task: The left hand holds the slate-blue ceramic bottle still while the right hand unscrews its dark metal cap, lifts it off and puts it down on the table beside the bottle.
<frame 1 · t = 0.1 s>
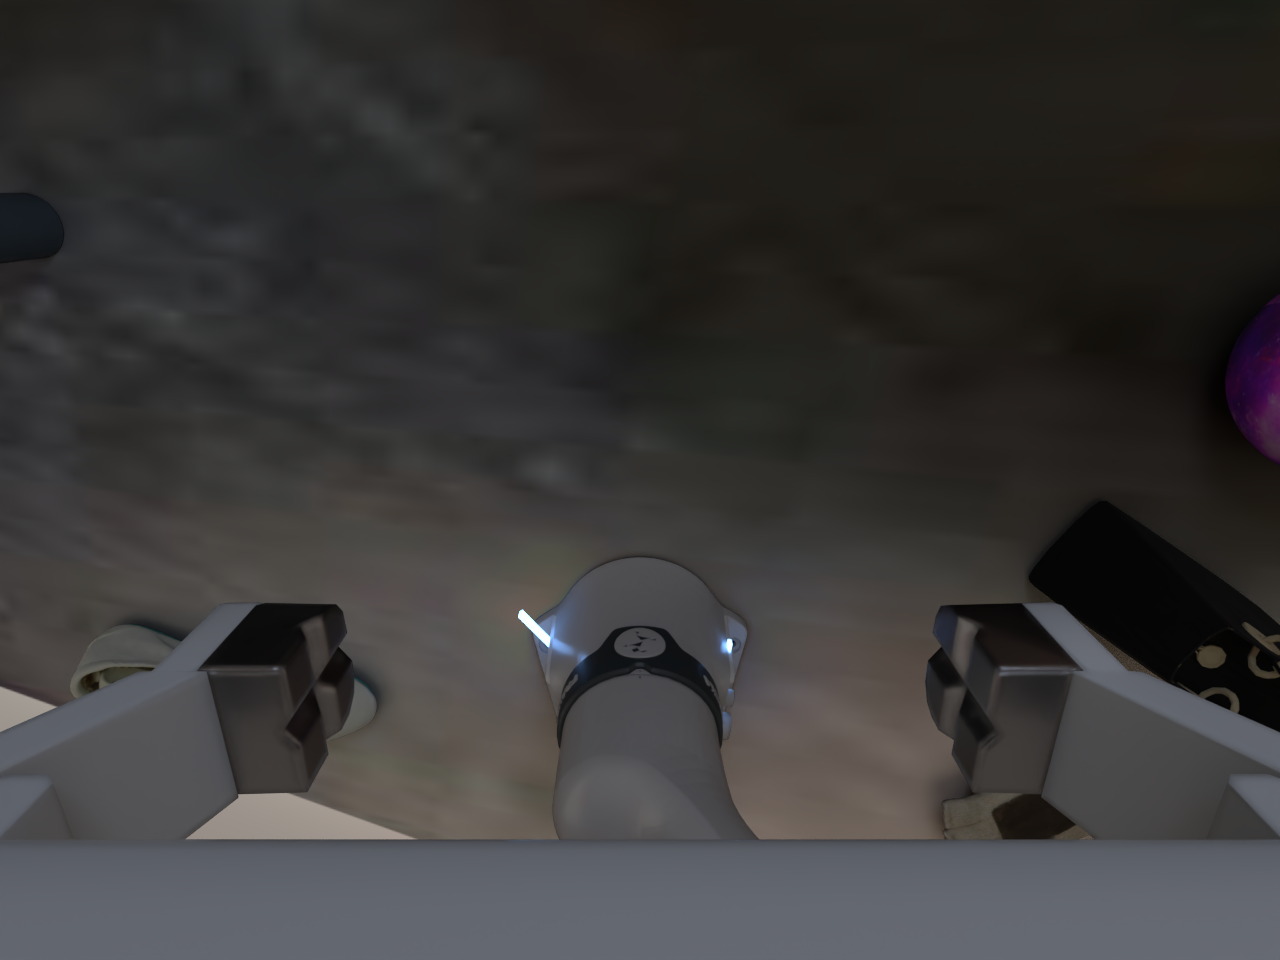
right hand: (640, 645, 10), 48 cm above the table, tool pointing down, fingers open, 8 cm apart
ballet flat: (246, 673, 68), on the table
decorative orb: (1276, 350, 57), on the table
bottle: (31, 225, 54), on the table
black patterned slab: (1136, 587, 65), on the table
pair of gloves: (1076, 839, 76), on the table
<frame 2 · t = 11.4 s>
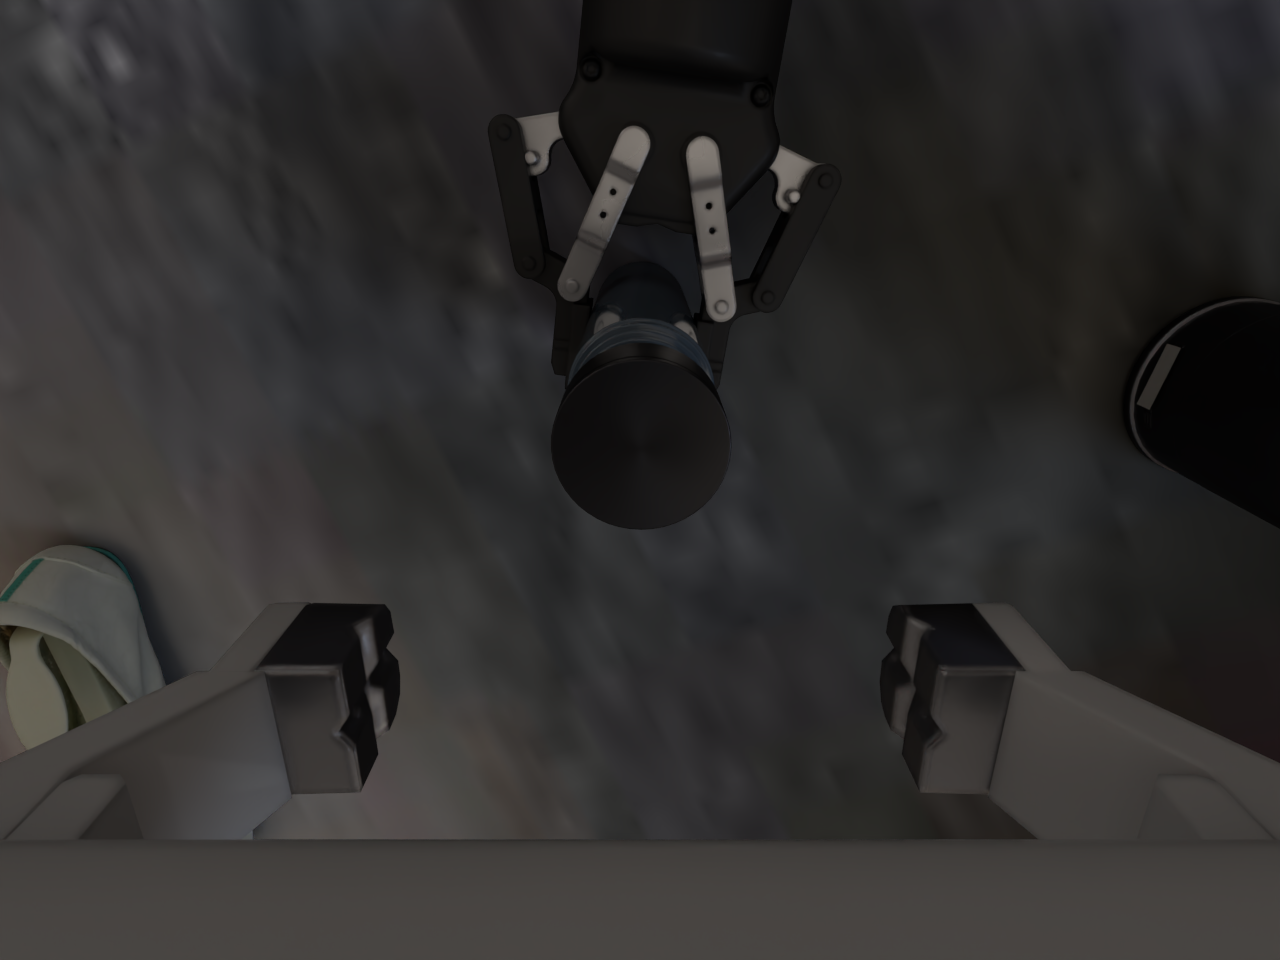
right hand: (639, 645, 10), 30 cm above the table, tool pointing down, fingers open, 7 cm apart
left hand: (633, 392, 33), fingers closed on bottle, 4 cm apart
cap: (641, 444, 18), point 21 cm above the table, screwed on, not yet turned
ballet flat: (155, 705, 47), on the table
bottle: (641, 306, 38), on the table, touching left hand
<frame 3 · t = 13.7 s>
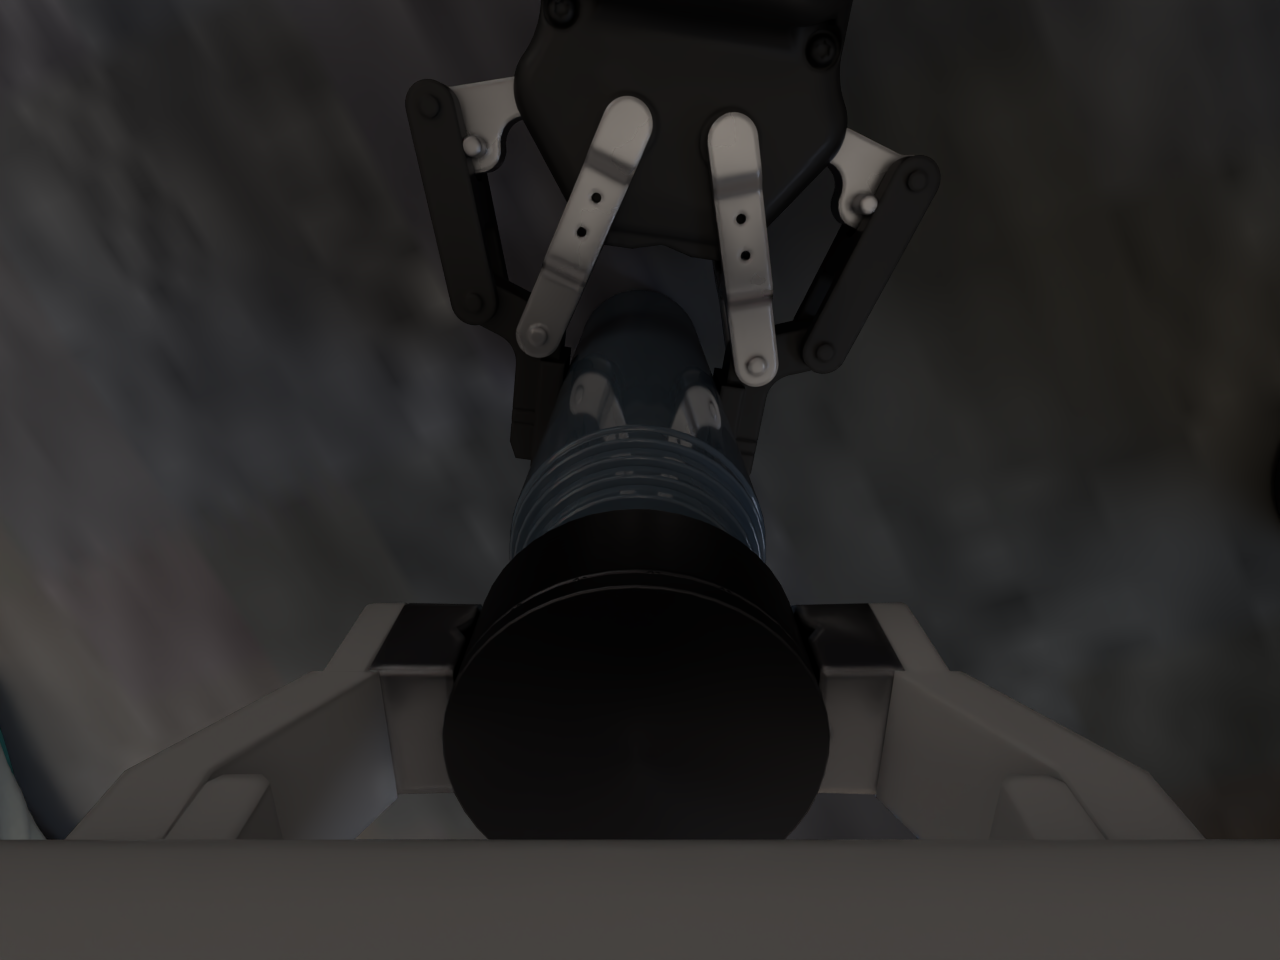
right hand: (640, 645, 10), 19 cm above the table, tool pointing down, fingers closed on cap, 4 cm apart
cap: (636, 737, 9), point 21 cm above the table, screwed on, not yet turned, touching right hand
ballet flat: (30, 839, 38), on the table
bottle: (639, 349, 28), on the table, touching left hand
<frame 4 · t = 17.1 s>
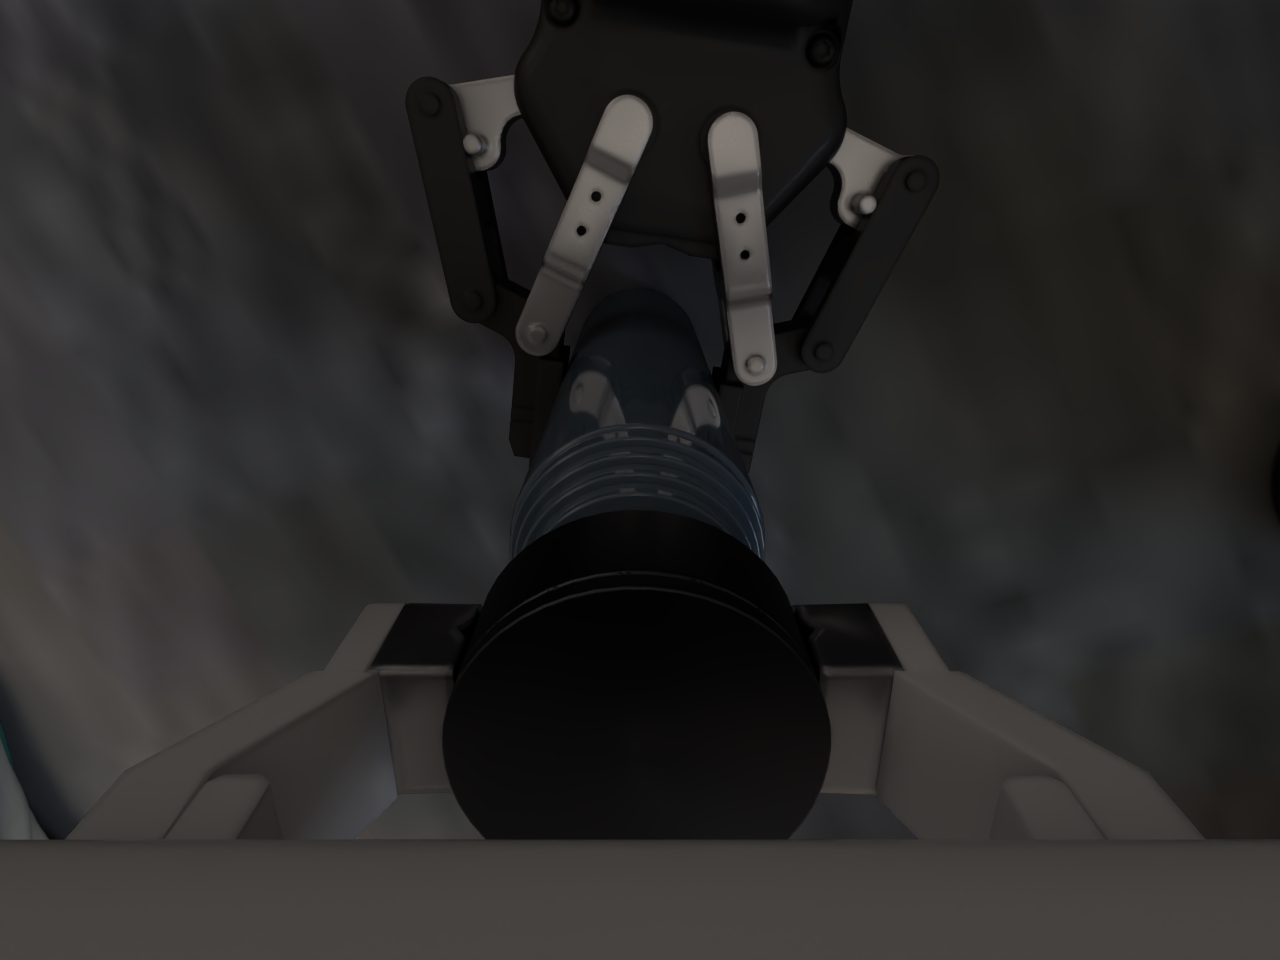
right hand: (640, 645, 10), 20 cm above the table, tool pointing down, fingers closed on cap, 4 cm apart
left hand: (626, 478, 23), fingers closed on bottle, 4 cm apart
cap: (636, 738, 9), point 21 cm above the table, turned 94° so far, risen 0.1 cm, still on its thread, touching right hand
ballet flat: (31, 837, 38), on the table
bottle: (638, 348, 28), on the table, touching left hand
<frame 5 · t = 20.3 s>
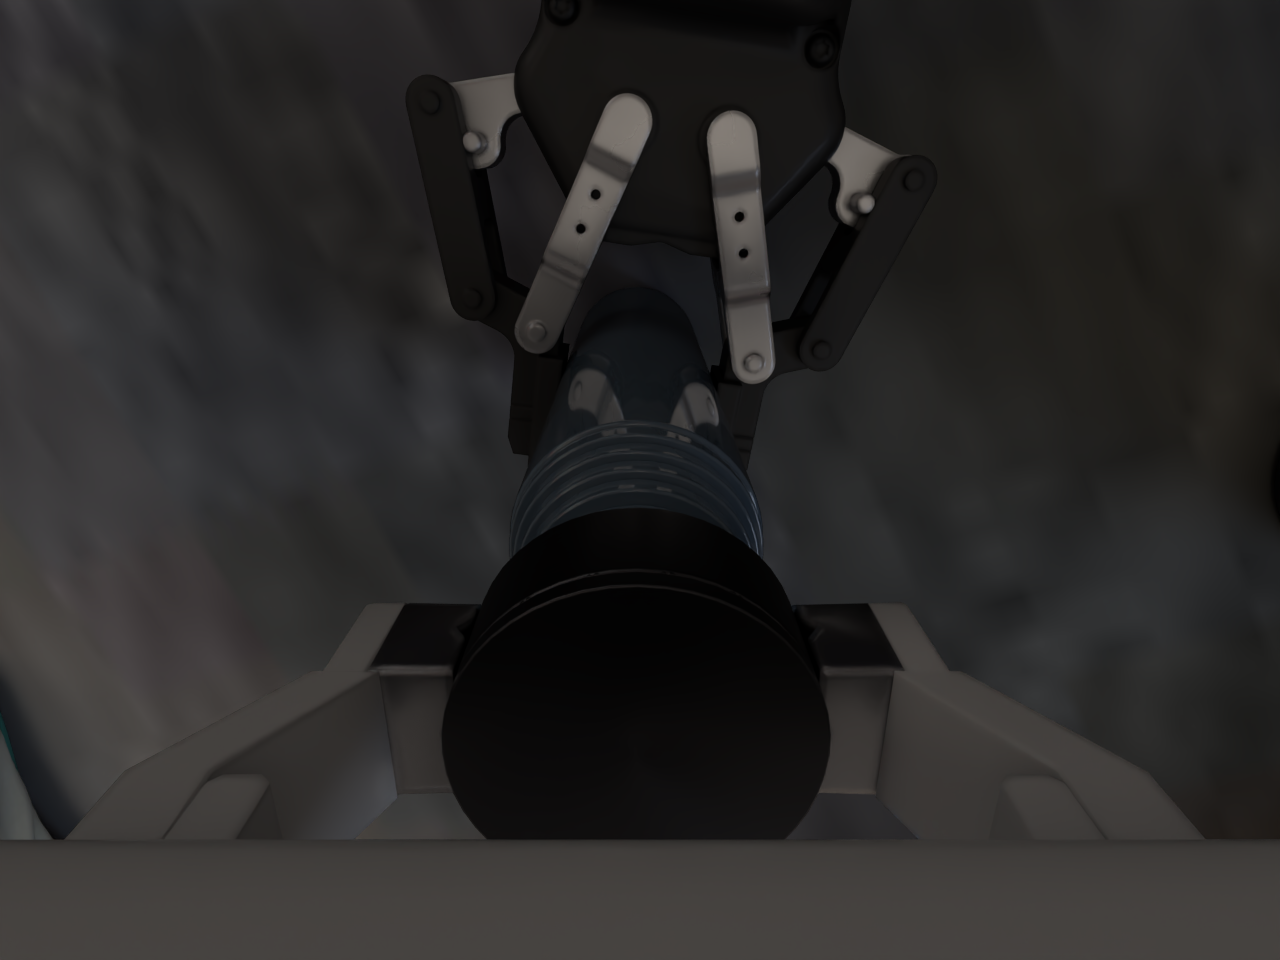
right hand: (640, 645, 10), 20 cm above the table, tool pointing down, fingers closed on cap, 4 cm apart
left hand: (625, 475, 23), fingers closed on bottle, 4 cm apart
cap: (636, 736, 9), point 22 cm above the table, turned 187° so far, risen 0.2 cm, still on its thread, touching right hand
ballet flat: (33, 835, 38), on the table
bottle: (636, 346, 29), on the table, touching left hand
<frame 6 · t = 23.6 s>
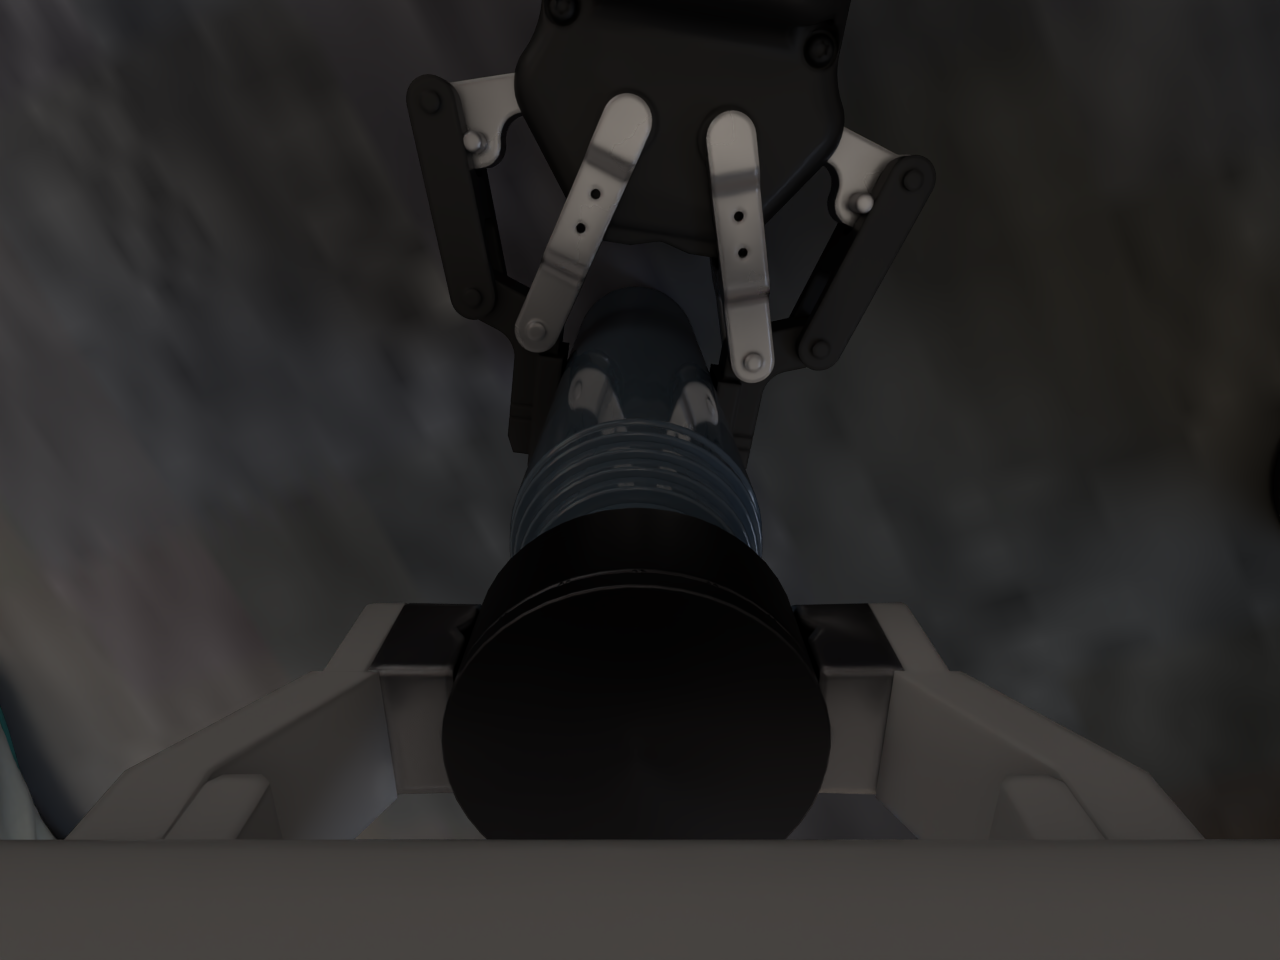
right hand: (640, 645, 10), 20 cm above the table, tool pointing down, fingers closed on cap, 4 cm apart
cap: (636, 737, 9), point 22 cm above the table, turned 280° so far, risen 0.2 cm, still on its thread, touching right hand
ballet flat: (35, 834, 38), on the table
bottle: (636, 346, 29), on the table, touching left hand
when the right hand's fingers open (2 cm above the table, at t = 33.9 s): cap drops 2 cm, point 2 cm above the table.
when the left hand's fingers open (7 cm above the table, at t = 35.0 s): bottle stays where it is, on the table.
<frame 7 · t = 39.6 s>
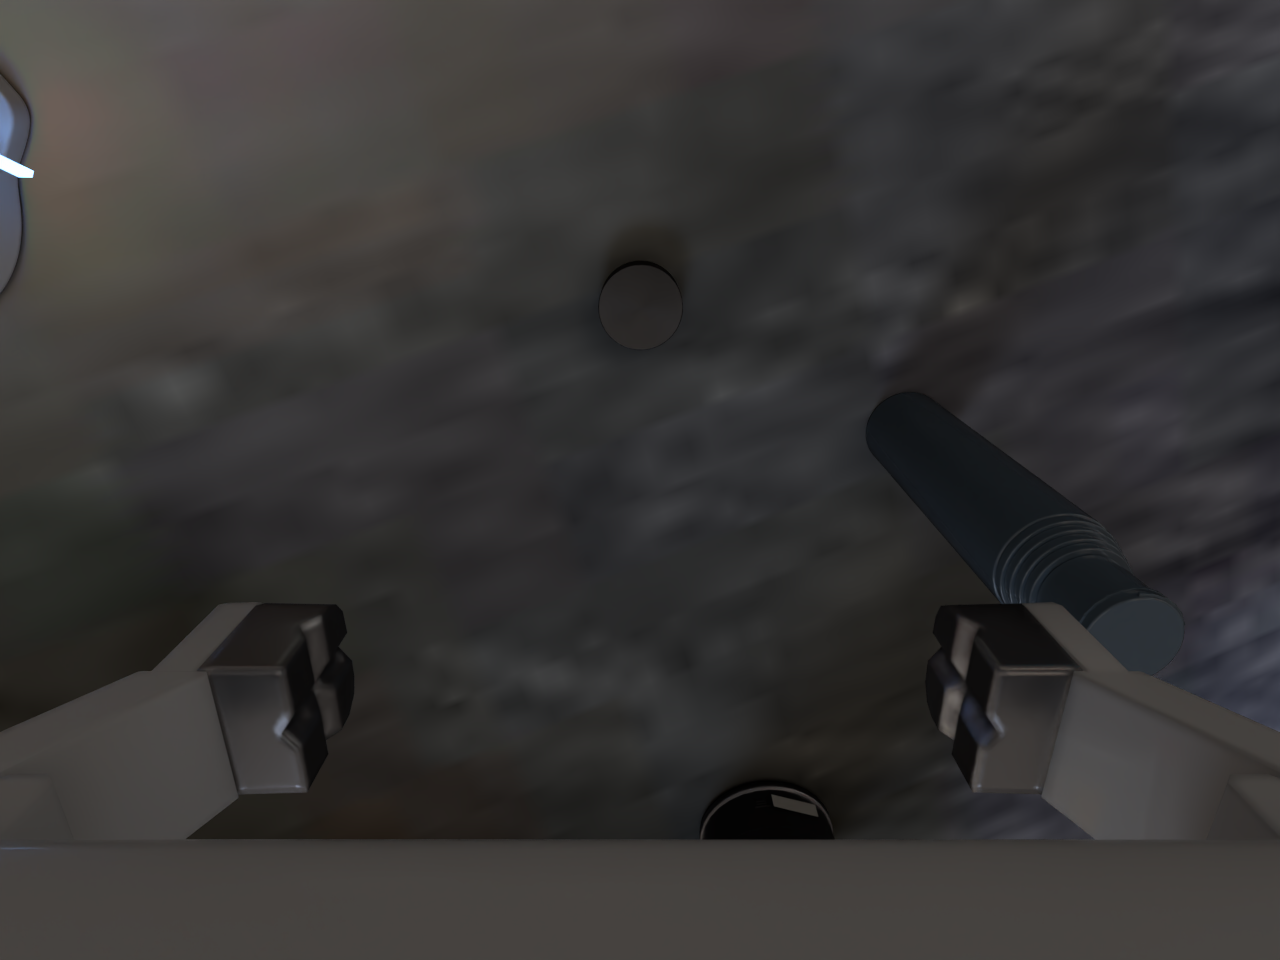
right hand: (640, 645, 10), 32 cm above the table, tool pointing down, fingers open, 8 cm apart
cap: (640, 307, 39), point 2 cm above the table, off its thread
bottle: (904, 429, 43), on the table
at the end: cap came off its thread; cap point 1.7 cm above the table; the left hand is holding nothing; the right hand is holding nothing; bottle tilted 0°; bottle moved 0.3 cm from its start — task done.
